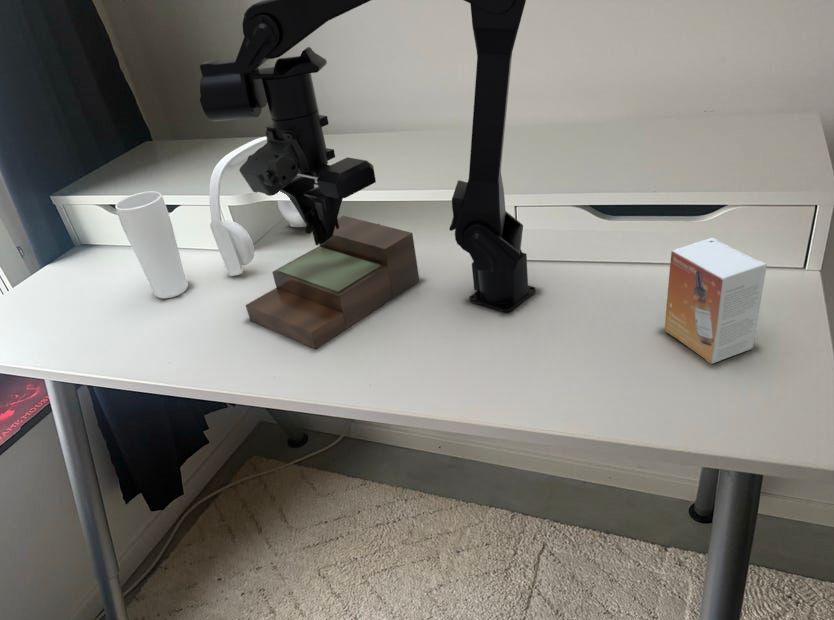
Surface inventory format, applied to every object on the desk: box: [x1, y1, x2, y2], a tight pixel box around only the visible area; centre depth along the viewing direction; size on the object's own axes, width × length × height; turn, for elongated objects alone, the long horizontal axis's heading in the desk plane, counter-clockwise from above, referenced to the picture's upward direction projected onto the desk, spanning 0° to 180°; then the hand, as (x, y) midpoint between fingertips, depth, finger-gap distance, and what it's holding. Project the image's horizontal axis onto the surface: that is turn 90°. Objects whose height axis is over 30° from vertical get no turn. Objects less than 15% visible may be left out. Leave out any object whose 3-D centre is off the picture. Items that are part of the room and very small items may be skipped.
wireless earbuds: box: [304, 207, 339, 246], centre depth 93 cm, size 7×2×5 cm, turn 151°
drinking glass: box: [115, 190, 189, 299], centre depth 107 cm, size 7×7×15 cm
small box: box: [663, 237, 768, 365], centre depth 77 cm, size 8×6×10 cm
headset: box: [208, 136, 306, 277], centre depth 113 cm, size 20×7×18 cm, turn 148°
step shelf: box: [245, 215, 420, 350], centre depth 99 cm, size 14×20×8 cm
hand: (321, 232), depth 94 cm, fingers closed on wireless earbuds, 3 cm apart
